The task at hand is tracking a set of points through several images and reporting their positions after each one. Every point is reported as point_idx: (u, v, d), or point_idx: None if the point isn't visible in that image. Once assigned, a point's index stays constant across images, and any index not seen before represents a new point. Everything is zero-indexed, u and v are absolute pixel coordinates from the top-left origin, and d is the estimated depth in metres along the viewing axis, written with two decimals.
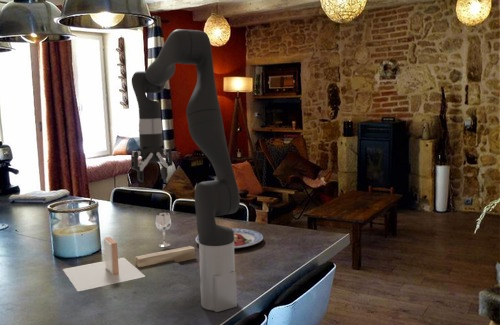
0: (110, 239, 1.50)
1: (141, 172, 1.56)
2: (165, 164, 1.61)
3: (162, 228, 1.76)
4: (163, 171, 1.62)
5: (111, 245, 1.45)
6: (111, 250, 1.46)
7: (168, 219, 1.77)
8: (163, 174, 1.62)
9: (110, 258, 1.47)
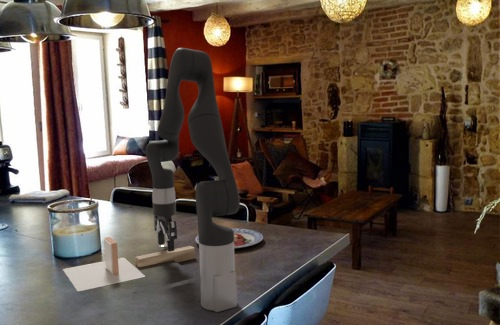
0: (110, 239, 1.50)
1: (173, 241, 1.56)
2: None
3: None
4: (162, 237, 1.63)
5: (111, 245, 1.45)
6: (111, 250, 1.46)
7: None
8: (162, 240, 1.63)
9: (110, 258, 1.47)
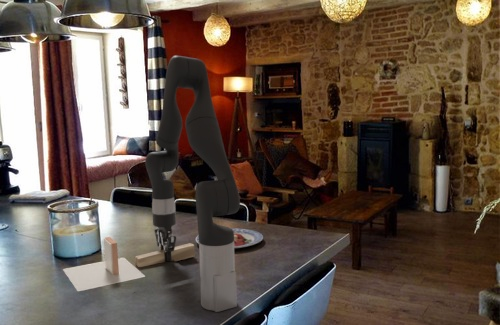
0: (110, 239, 1.50)
1: (170, 252, 1.58)
2: None
3: None
4: None
5: (111, 245, 1.45)
6: (111, 250, 1.46)
7: None
8: None
9: (110, 258, 1.47)
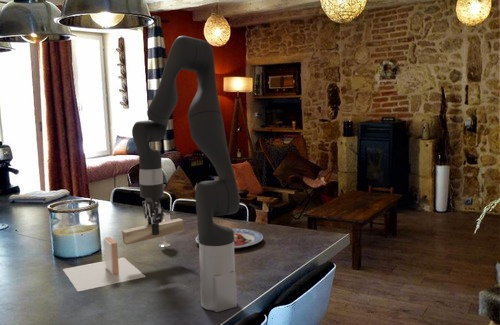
0: (110, 239, 1.50)
1: (158, 224, 1.55)
2: None
3: None
4: None
5: (111, 245, 1.45)
6: (111, 250, 1.46)
7: (168, 219, 1.77)
8: None
9: (110, 258, 1.47)
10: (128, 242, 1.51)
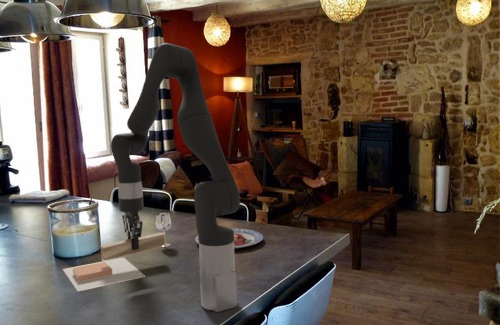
0: (74, 273, 1.45)
1: (137, 239, 1.51)
2: None
3: (162, 228, 1.76)
4: None
5: (80, 281, 1.41)
6: (86, 279, 1.42)
7: (168, 219, 1.77)
8: None
9: None
10: (106, 257, 1.47)
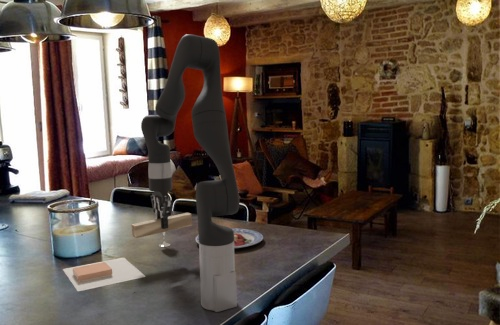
0: (74, 273, 1.45)
1: None
2: None
3: None
4: None
5: (80, 281, 1.41)
6: (86, 279, 1.42)
7: None
8: None
9: None
10: (138, 236, 1.52)
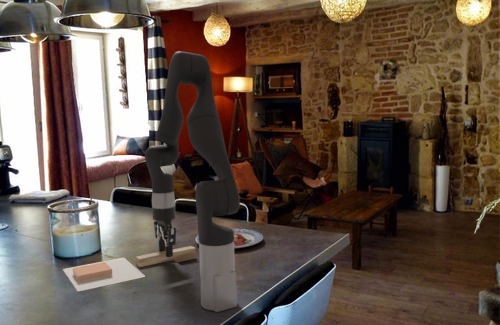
0: (74, 273, 1.45)
1: (172, 246, 1.57)
2: None
3: None
4: (163, 244, 1.62)
5: (80, 281, 1.41)
6: (86, 279, 1.42)
7: None
8: (163, 247, 1.62)
9: None
10: None
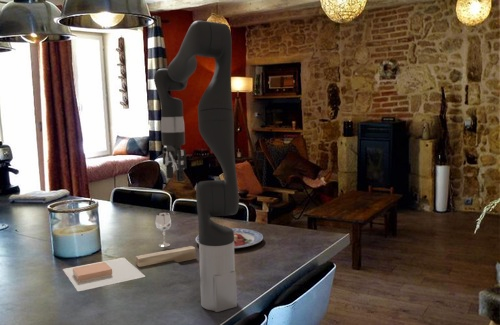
0: (74, 273, 1.45)
1: (182, 171, 1.54)
2: None
3: (162, 228, 1.76)
4: (171, 170, 1.61)
5: (80, 281, 1.41)
6: (86, 279, 1.42)
7: (168, 219, 1.77)
8: (171, 173, 1.61)
9: None
10: None
